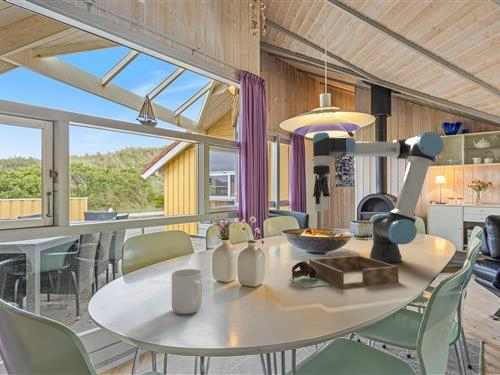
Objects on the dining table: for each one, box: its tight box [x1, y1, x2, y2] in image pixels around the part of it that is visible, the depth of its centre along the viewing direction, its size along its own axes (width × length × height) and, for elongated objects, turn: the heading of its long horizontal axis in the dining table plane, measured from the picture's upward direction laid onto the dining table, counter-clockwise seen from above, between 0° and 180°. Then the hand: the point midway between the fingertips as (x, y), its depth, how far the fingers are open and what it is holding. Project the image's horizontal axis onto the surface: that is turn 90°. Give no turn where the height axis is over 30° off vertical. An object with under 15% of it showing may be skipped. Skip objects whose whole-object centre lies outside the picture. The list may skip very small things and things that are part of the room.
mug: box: [171, 268, 203, 315], centre depth 94 cm, size 12×9×11 cm
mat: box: [289, 276, 331, 289], centre depth 123 cm, size 11×12×1 cm
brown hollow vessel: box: [291, 260, 318, 281], centre depth 125 cm, size 12×9×8 cm
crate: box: [308, 255, 400, 290], centre depth 130 cm, size 26×24×6 cm
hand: (322, 210), depth 148 cm, fingers open, 13 cm apart
